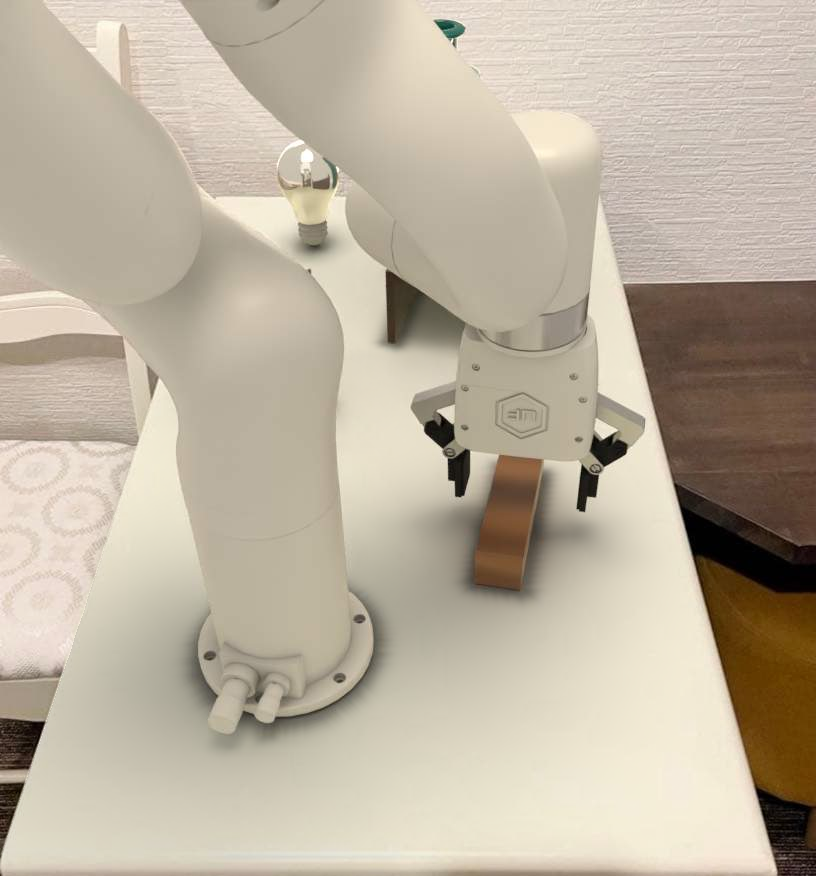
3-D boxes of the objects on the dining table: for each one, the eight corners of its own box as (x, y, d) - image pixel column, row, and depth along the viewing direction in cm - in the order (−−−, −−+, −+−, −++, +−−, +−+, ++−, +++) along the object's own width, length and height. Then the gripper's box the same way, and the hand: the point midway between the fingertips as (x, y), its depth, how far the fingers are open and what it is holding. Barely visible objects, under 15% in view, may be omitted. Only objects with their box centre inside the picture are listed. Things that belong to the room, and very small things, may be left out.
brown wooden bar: (520, 590, 76) (523, 557, 73) (473, 583, 76) (475, 550, 74) (542, 473, 85) (546, 440, 83) (501, 467, 86) (503, 435, 83)
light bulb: (349, 255, 113) (342, 151, 104) (288, 263, 112) (277, 158, 103) (339, 227, 117) (332, 125, 109) (280, 234, 116) (269, 132, 108)
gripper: (394, 328, 66) (406, 512, 78) (659, 352, 63) (628, 539, 75) (418, 269, 71) (425, 450, 83) (664, 288, 68) (634, 473, 80)
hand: (521, 492), depth 79 cm, fingers open, 9 cm apart
